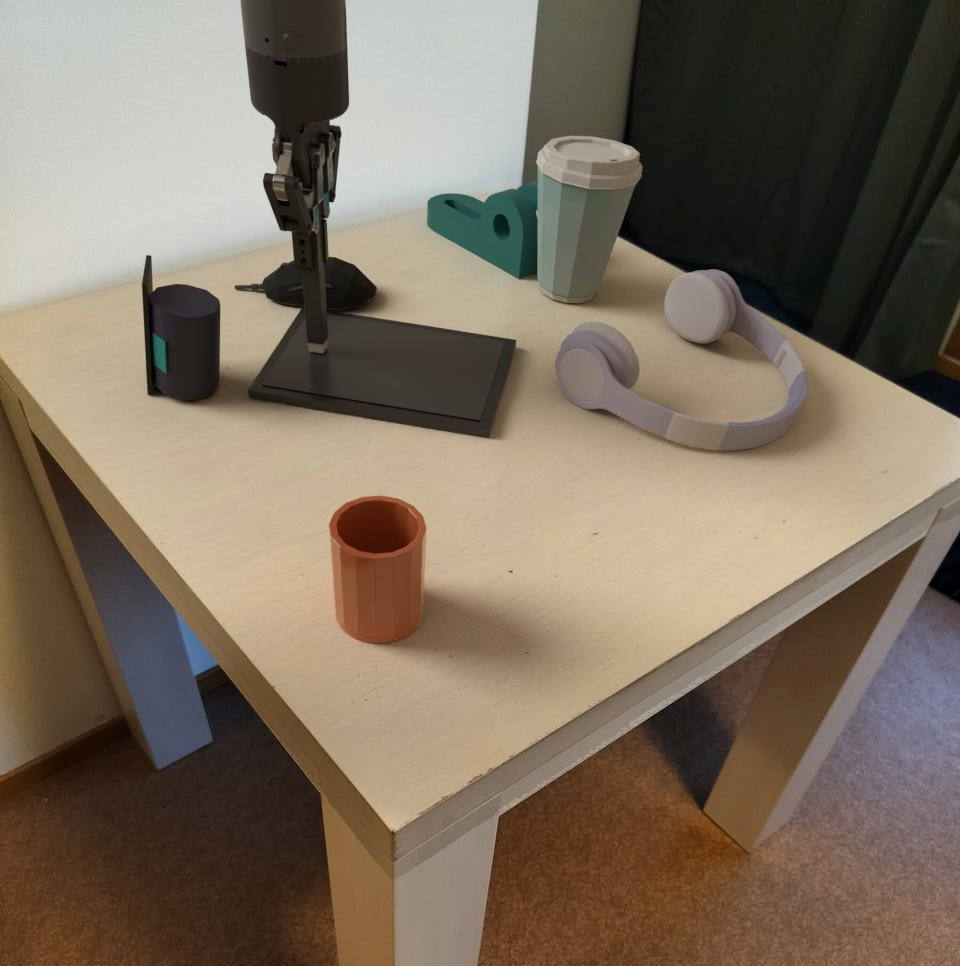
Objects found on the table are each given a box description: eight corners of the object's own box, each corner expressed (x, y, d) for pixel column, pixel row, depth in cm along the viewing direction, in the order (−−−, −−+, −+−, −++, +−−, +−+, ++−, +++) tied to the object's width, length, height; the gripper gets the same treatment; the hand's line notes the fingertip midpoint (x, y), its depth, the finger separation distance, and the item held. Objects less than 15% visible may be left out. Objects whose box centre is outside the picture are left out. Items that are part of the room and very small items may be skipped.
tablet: (248, 398, 81) (247, 388, 80) (303, 314, 91) (302, 304, 91) (488, 438, 79) (489, 428, 78) (515, 347, 90) (516, 338, 89)
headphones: (539, 385, 85) (710, 496, 77) (553, 317, 80) (738, 430, 72) (675, 313, 97) (834, 403, 89) (694, 250, 91) (866, 340, 84)
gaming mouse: (241, 275, 96) (236, 237, 93) (379, 286, 96) (379, 249, 93) (228, 303, 92) (223, 265, 89) (373, 315, 92) (372, 277, 89)
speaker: (124, 393, 79) (110, 280, 72) (152, 363, 83) (142, 252, 76) (207, 414, 79) (202, 303, 72) (231, 383, 83) (228, 275, 76)
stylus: (307, 352, 84) (296, 210, 75) (312, 343, 85) (302, 203, 76) (324, 354, 84) (315, 213, 75) (328, 346, 85) (321, 206, 76)
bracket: (560, 263, 103) (570, 192, 97) (518, 278, 100) (526, 206, 94) (457, 207, 112) (460, 139, 106) (415, 220, 108) (416, 150, 102)
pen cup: (324, 634, 62) (317, 548, 56) (348, 575, 66) (344, 488, 60) (411, 650, 62) (413, 565, 56) (430, 589, 66) (434, 504, 60)
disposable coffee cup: (505, 275, 100) (519, 128, 89) (588, 262, 104) (611, 120, 93) (549, 320, 94) (570, 169, 83) (636, 305, 98) (667, 159, 87)
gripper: (277, 8, 71) (295, 229, 84) (212, 56, 62) (243, 296, 75) (369, 20, 71) (373, 240, 83) (317, 71, 61) (331, 310, 74)
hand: (312, 266), depth 79 cm, fingers closed on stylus, 1 cm apart
